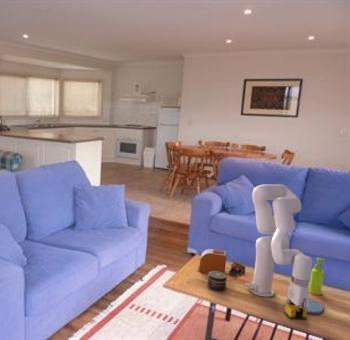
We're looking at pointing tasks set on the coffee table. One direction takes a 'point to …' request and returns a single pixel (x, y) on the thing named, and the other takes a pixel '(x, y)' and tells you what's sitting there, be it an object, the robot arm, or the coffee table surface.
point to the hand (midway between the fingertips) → (295, 314)
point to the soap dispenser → (316, 277)
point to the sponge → (293, 311)
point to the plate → (312, 306)
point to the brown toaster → (213, 261)
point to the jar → (217, 280)
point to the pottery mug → (236, 272)
